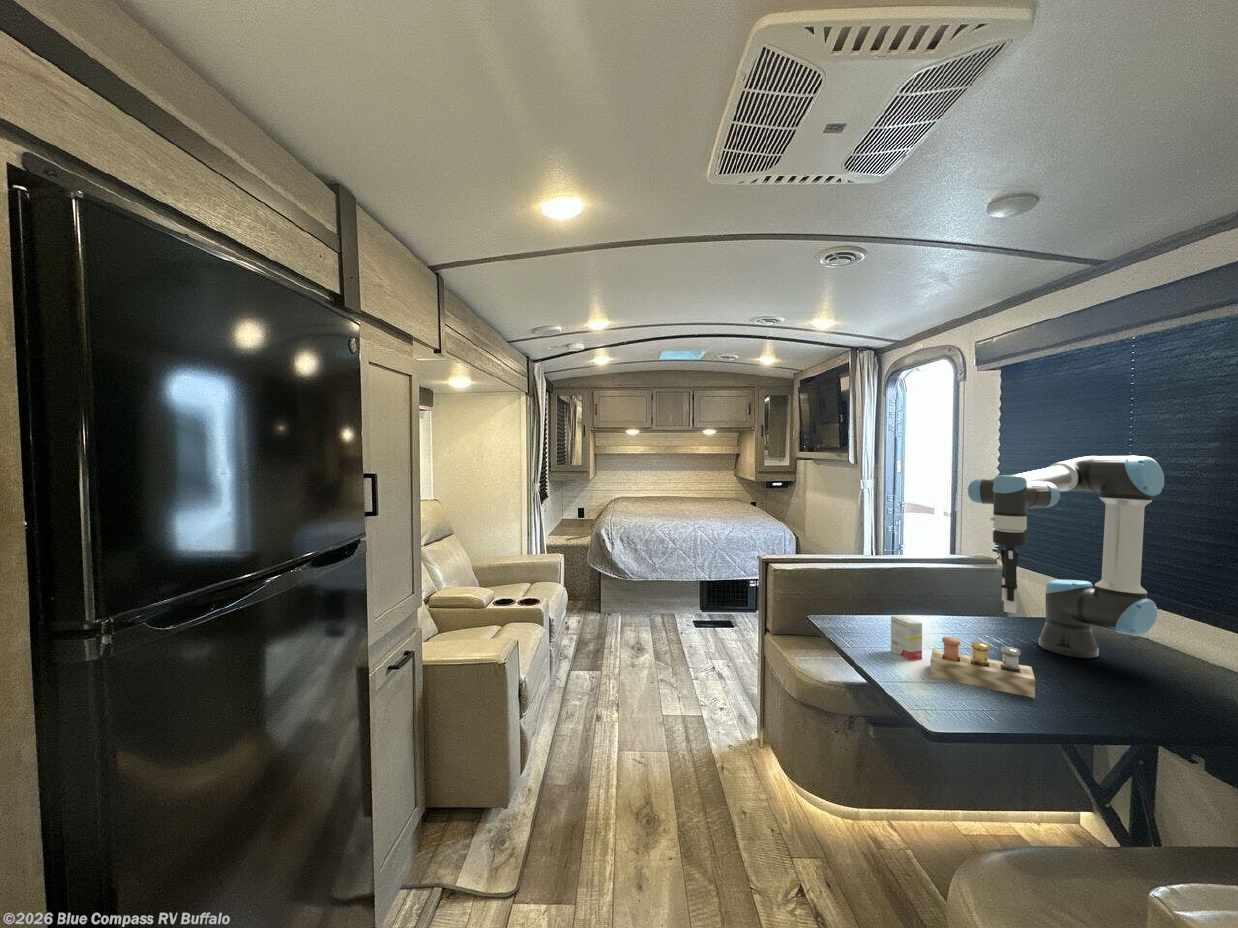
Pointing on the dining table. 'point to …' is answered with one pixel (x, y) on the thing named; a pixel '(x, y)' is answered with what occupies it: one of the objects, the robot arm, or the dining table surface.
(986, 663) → the plunger brass
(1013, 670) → the plunger grey
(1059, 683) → the dining table surface
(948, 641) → the plunger terracotta
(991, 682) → the plunger block
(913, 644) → the ink box
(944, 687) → the dining table surface
